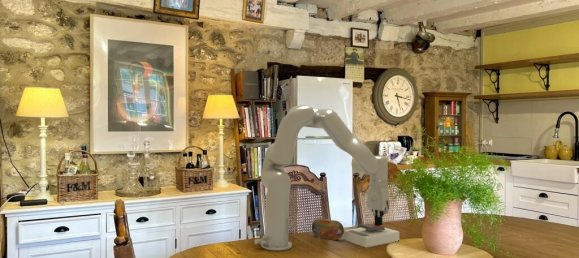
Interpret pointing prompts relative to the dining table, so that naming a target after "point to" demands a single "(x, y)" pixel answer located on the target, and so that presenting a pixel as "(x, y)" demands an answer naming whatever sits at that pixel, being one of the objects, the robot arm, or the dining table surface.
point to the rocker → (371, 227)
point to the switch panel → (370, 236)
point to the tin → (327, 229)
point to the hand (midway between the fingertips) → (378, 225)
